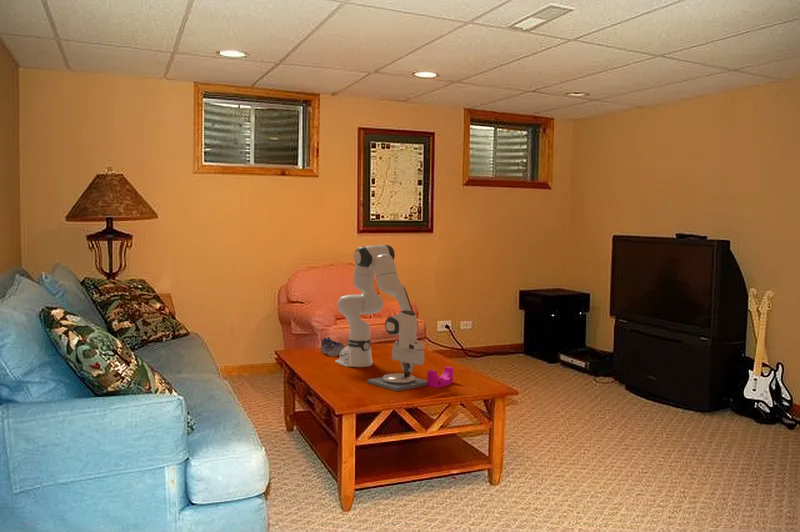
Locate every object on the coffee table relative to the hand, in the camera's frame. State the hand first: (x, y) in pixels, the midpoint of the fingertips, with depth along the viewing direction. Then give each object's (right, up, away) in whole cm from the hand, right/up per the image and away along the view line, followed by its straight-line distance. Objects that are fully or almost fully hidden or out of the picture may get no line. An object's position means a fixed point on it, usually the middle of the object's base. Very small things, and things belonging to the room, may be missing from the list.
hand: (407, 371), depth 326 cm
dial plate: (-4, -6, -3) cm, 8 cm away
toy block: (+17, -6, -3) cm, 18 cm away
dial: (-4, -4, -4) cm, 7 cm away
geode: (-45, -1, +66) cm, 80 cm away
